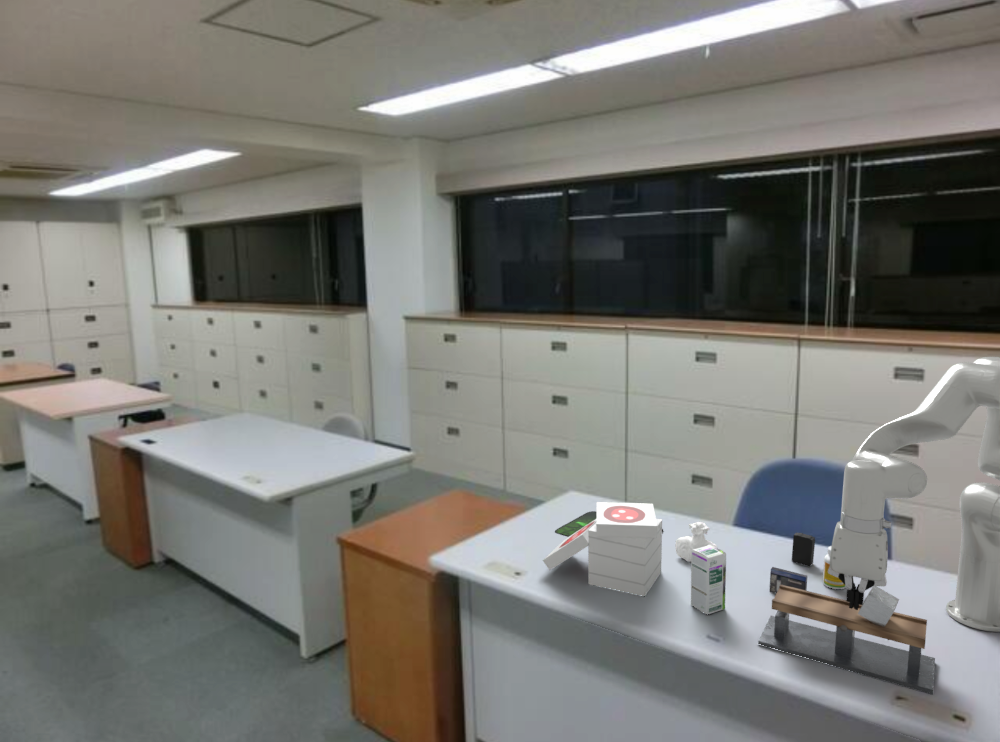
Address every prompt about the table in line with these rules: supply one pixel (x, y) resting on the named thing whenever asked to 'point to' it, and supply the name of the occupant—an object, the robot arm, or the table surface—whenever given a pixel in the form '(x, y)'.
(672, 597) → the table surface
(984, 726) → the table surface
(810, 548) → the ink cartridge
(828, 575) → the supplement bottle
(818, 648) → the pivot stand
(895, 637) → the beam
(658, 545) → the pizza boxes
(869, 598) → the steel cube
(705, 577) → the syrup box
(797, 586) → the mini dv tape
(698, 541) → the white lumpy figure
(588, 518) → the mouse mat
